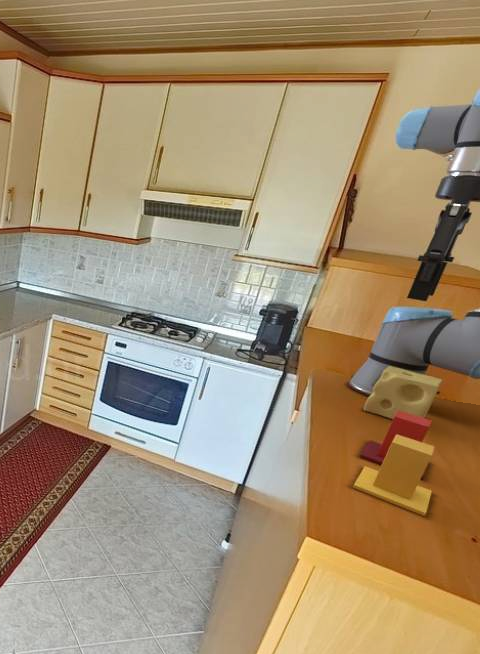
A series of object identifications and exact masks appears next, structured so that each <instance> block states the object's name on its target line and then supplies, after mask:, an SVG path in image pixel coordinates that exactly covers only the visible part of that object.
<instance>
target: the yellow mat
mask: <svg viewBox="0 0 480 654" xmlns="http://www.w3.org/2000/svg"><path fill="white" fill-rule="evenodd" d="M378 472H379V470H377V469H374V468H371V467H368V466H367V465H365V466H364V467H363V469H362V470H361V472H360V474H359V476H358V477H357V478H356V480H355V482H354V484H353V486H352V488H353V489H355V490H358V491H360V492H363V493H365V494H367V495H370V496H373V497H375V498H377V499H380V500H384V501H386V502H388V503H390V504H393V505H395V506H398V507H401V508H402V509H404V510H407V511H409V512H413V513H415V514H418V515H421V516H423V517H425V516H426V515H427V512H428V508H429V504H430V500H431V497H432V493H433V490H431V489H428V488H425V487H423V486H420V485H417V487H416V489H415V491H414V493H413V495H412V497H411V499H407V498H405V497H402V496H399V495H397V494H394V493H392V492H389V491H387V490H384V489H381V488H379V487H376V486H374V485H373V483H374V481H375V479H376V476H377V474H378Z"/></svg>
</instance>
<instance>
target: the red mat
mask: <svg viewBox="0 0 480 654" xmlns="http://www.w3.org/2000/svg"><path fill="white" fill-rule="evenodd" d="M381 445H382V443H380V442H377V441H374V440H371V439H370V440H368V442H367V443H366V445H365V446H364V448H363V450H362V451H361V453H360V455H359V458H361V459H364V460H367V461H369V462H372V463H375V464H378V465H379V466H380V465H382V463H383V461H384V459H385V458H384V457H382V456H379V455H377V454H378V452H379V450H380V447H381ZM427 468H428V466H427V467H426V469H425V471H424V473H423V475H422V477H421V479H420V480H424V478H425V474H426V472H427V470H428V469H427Z"/></svg>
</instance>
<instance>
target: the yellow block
mask: <svg viewBox="0 0 480 654" xmlns="http://www.w3.org/2000/svg"><path fill="white" fill-rule="evenodd" d="M434 451H435V445H431V444H428V443H425V442H423V441H422V442H419V441H416V440H413V439H410V438H406V437H403V436H400V435H397V434H396V436H395V438H394V440H393V442H392V444H391V446H390V448H389V450H388V452H387V455H386V457H385V459H384V461H383V463H382V465H381V466H380V467H379V470H378V471H379V472H378V474H377V476H376V479H375V481H374V483H373V485H374V486H376V487H379V488H381V489H384V490H387V491H389V492H392V493H394V494H397V495H399V496H402V497H405V498H407V499H411V497H412V495H413V493H414V491H415V489H416V487H417V486H419V483H420V481H421V480H422V479H421V477H422V475H423V473H424V471H425V469H426V467H427V468H428V465H429V462H430V461H431V459H432V457H433V454H434ZM426 470H427V469H426Z"/></svg>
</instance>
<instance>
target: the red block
mask: <svg viewBox="0 0 480 654" xmlns="http://www.w3.org/2000/svg"><path fill="white" fill-rule="evenodd" d="M431 424H432V419H429V418H426V417H424V418H422V417H419V416H415V415H412V414H409V413H405V412H402V411H399V410H398V411H397V413H396V415H395V416H394V419H392V420H391V423H390V425H389V428H388V430H387V431H386V434H385V437H384V439H383V441H382V443H381V444H382V445H381V447H380V450H379V452H378V454H377V455H379V456H382V457H384V458H385V457H386V455H387V452H388V450H389V448H390V446H391V444H392V442H393V440H394V438H395V436H396V434H397V435H400V436H403V437H406V438H410V439H413V440H416V441H419V442H422V443H423V441H424V439H425V438H426V435H427V433H428V431H429V429H430V426H431Z"/></svg>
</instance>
